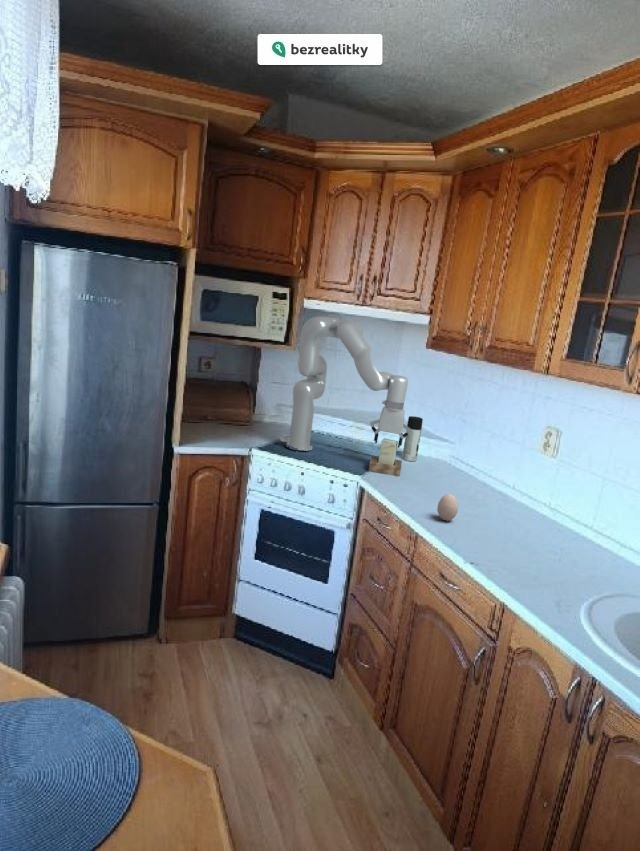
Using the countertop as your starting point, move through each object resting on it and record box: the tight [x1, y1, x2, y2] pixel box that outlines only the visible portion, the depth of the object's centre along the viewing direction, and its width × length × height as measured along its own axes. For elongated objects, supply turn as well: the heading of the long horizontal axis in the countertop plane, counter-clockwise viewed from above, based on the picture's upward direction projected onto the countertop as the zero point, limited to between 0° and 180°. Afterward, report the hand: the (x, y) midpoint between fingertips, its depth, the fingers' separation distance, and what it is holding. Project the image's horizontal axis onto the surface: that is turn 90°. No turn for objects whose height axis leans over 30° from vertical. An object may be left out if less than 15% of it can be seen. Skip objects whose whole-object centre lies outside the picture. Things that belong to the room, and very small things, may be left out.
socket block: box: [368, 455, 403, 477], centre depth 242 cm, size 13×13×4 cm
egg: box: [436, 493, 459, 522], centre depth 190 cm, size 7×7×9 cm
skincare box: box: [378, 438, 399, 465], centre depth 241 cm, size 6×4×12 cm
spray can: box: [402, 415, 424, 462], centre depth 262 cm, size 7×7×20 cm
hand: (387, 444), depth 240 cm, fingers open, 9 cm apart
